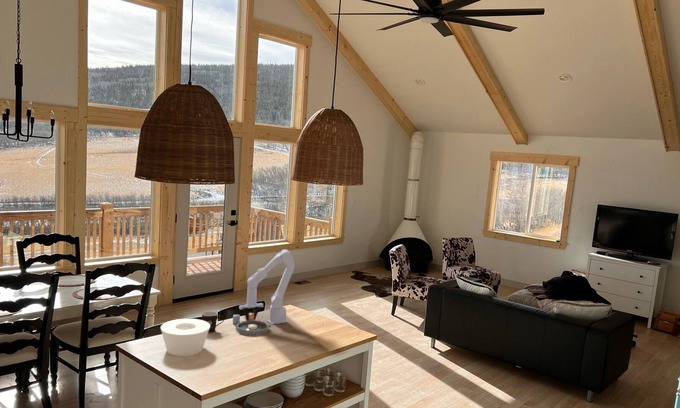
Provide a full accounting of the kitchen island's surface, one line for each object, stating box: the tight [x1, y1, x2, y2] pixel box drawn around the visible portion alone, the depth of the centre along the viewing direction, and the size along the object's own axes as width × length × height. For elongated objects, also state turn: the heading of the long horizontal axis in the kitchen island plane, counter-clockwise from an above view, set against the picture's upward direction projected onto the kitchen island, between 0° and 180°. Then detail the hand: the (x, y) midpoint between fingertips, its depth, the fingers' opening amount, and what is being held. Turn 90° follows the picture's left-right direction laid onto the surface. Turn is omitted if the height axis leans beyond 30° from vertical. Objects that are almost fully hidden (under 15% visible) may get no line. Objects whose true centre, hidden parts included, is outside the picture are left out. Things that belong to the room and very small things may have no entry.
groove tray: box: [235, 320, 270, 337], centre depth 295 cm, size 18×18×2 cm
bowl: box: [160, 318, 210, 357], centre depth 261 cm, size 24×24×12 cm
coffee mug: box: [201, 310, 225, 334], centre depth 288 cm, size 12×9×10 cm
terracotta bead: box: [248, 312, 255, 321], centre depth 308 cm, size 4×4×5 cm
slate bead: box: [232, 314, 241, 326], centre depth 303 cm, size 4×4×5 cm
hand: (250, 319), depth 308 cm, fingers closed on terracotta bead, 4 cm apart
